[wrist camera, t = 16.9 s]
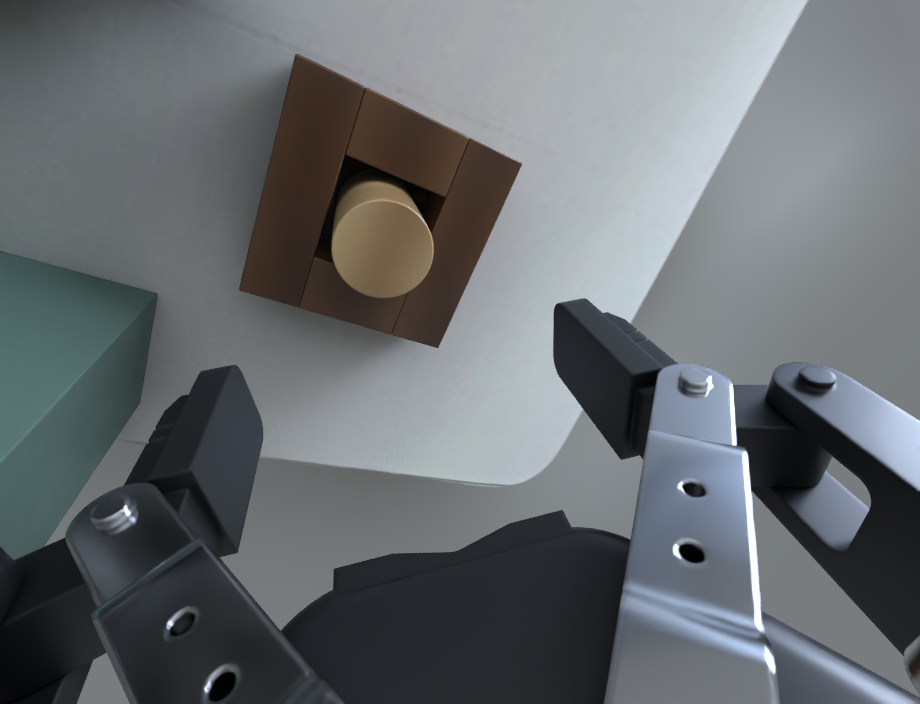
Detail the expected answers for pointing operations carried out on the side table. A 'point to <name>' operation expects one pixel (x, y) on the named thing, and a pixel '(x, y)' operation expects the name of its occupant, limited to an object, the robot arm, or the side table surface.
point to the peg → (379, 236)
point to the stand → (62, 388)
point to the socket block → (393, 151)
